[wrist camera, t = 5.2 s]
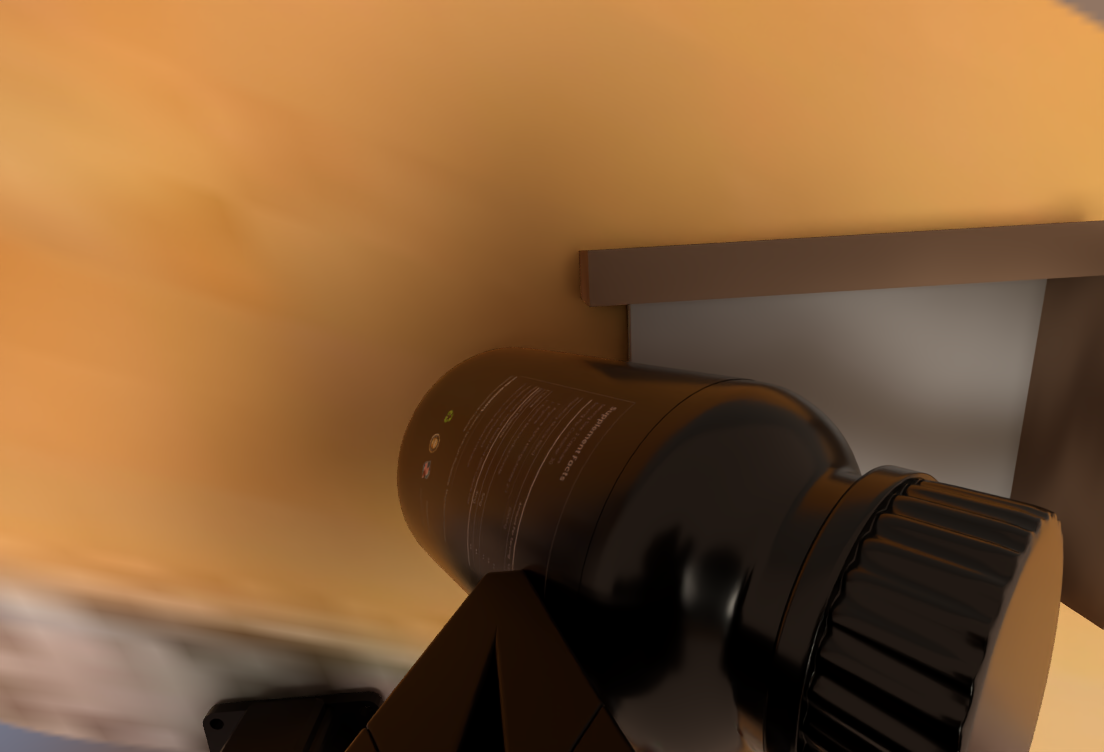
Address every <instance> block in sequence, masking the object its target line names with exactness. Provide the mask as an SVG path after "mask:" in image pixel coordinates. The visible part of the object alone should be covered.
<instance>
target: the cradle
mask: <svg viewBox="0 0 1104 752" xmlns="http://www.w3.org/2000/svg"><path fill="white" fill-rule="evenodd" d="M579 263H580V286H581V299H582V300H583V301H584V302H585V303H586V304H587V305H589V306H590V307H595V306H611V305H627V304H628V350H629V362H634V363H641V364H648V365H655V366H662V367H669V368H676V369H683V370H690V371H697V372H704V373H711V374H718V375H725V376H731V377H738V378H745V379H751V380H755V381H761V382H766V383H770V384H774V385H778V386H782V387H785V388H787V389H789V390H791V391H793V392H796V393H798V394H799V395H801V396H803V397H804V398H805V399H807V400H808V401H810V402H811V403H812V404H814V405H815V406H817V407H818V408H819V409H820V410H821V411H823V412H824V413H825V414H826V415H827V416H828V417H829V418H830V419H831V420H832V422H833V423H834V424H835V425H836V426H837V427H838V429H839V430H840V431H841V433H842V434H843V436H844V437H845V439H846V440H847V442H848V444H849V446H850V448H851V450H852V451H853V454H854V456H855V458H856V461H857V463H858V466H859V469H860V472H861V475H864V474H865V473H867V472H868V471H870V470H872V469H874V468H876V467H879V466H883V465H894V466H898V467H902V468H906V469H910V470H915V471H919V472H923V473H927V474H929V475H931V476H933V477H934V478H935V479H936V480H937V481H938V482H941V483H946V484H951V485H956V486H960V487H964V488H968V489H973V490H977V491H981V492H985V493H989V494H993V495H997V496H1002V497H1006V498H1010V499H1014V500H1018V501H1022V502H1026V503H1030V504H1034V505H1037V506H1040V507H1043V508H1045V509H1048V510H1050V511H1052V512H1055V513H1056V516H1057V519H1058V520H1060V522H1061V532H1062V534H1063V554H1064V559H1063V577H1062V590H1061V599H1060V602H1062V603H1063V604H1065V605H1066V606H1068V607H1069V608H1071V609H1072V610H1074V611H1075V612H1077V613H1079V614H1080V615H1082V616H1083V617H1085V618H1086V619H1088V620H1089V621H1091V622H1092V623H1094V624H1095V625H1097V626H1098V627H1100V628H1101V629H1103V630H1104V221H1086V222H1069V223H1052V224H1035V225H1018V226H1001V227H983V228H966V229H949V230H932V231H915V232H898V233H880V234H863V235H846V236H829V237H812V238H794V239H777V240H760V241H743V242H726V243H709V244H691V245H674V246H657V247H640V248H623V249H606V250H588V251H579Z"/></svg>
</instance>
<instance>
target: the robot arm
mask: <svg viewBox="0 0 1104 752" xmlns="http://www.w3.org/2000/svg"><path fill="white" fill-rule="evenodd" d="M365 706H369V707H371V708H367V707H365ZM203 727H204V730H205V734H206V738H207V741H208V745H209V749H210V752H635V750H634V749H633V747H632V746H631V744H630V743H629V741H628V740H627V738H626V736H625V735H624V733H623V732H622V730H621V729H620V727H619V726H618V724H617V722H616V721H615V719H614V717H613V716H612V714H611V713H610V711H609V709H608V708H607V707H606V706H605V704H604V702H603V700H602V698H601V697H600V695H599V693H598V692H597V690H596V688H595V687H594V685H593V683H592V682H591V680H590V679H589V677H588V675H587V674H586V672H585V670H584V669H583V667H582V665H581V664H580V662H579V660H578V659H577V657H576V655H575V654H574V652H573V651H572V649H571V647H570V646H569V644H568V642H567V641H566V639H565V637H564V636H563V634H562V632H561V631H560V629H559V627H558V626H557V624H556V623H555V621H554V619H553V618H552V616H551V614H550V613H549V611H548V609H547V608H546V606H545V604H544V603H543V601H542V600H541V598H540V596H539V595H538V593H537V591H536V590H535V588H534V586H533V585H532V583H531V581H530V580H529V578H528V576H527V575H526V573H525V572H524V571H523V570H512V571H501V572H489V573H487V574H485V576H484V577H483V578H482V579H481V581H480V582H479V583H478V584H477V586H476V587H475V588H474V589H473V591H472V592H471V593H470V594H469V596H468V597H467V598H466V600H465V601H464V602H463V603H462V605H461V606H460V607H459V608H458V610H457V611H456V612H455V613H454V615H453V616H452V617H451V618H450V620H449V621H448V622H447V623H446V625H445V626H444V627H443V629H442V630H441V631H440V632H439V634H438V635H437V636H436V637H435V639H434V640H433V641H432V642H431V644H430V645H429V646H428V647H427V649H426V650H425V651H424V653H423V654H422V655H421V656H420V658H419V659H418V660H417V661H416V663H415V664H414V665H413V666H412V668H411V669H410V670H409V671H408V673H407V674H406V675H405V676H404V678H403V679H402V680H401V682H400V683H399V684H398V685H397V687H396V688H395V689H394V690H393V692H392V693H391V694H390V695H389V697H388V698H387V699H386V700H385V702H384V703H383V700H382V698H381V697H380V696H379V695H378V694H376V693H374V692H358V693H345V694H333V695H321V696H309V697H297V698H284V699H272V700H260V701H248V702H236V703H223V704H217V705H215V706H213V707H212V708H211V709H210V711H209V712H208V714H207V715H206V716H205V718H204V720H203Z"/></svg>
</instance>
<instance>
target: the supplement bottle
mask: <svg viewBox="0 0 1104 752" xmlns="http://www.w3.org/2000/svg"><path fill="white" fill-rule="evenodd" d="M397 486H398V495H399V500H400V505H401V509H402V512H403V515H404V518H405V521H406V523H407V525H408V527H409V529H410V531H411V532H412V534H413V536H414V537H415V539H416V540H417V542H418V543H419V544H420V545H421V547H422V548H423V549H424V550H425V551H426V552H427V553H428V555H429V556H430V557H431V558H432V559H433V560H434V561H435V562H436V563H437V564H438V565H439V566H440V567H441V568H442V569H443V570H444V571H445V572H446V573H447V574H448V575H449V576H450V577H451V578H452V579H453V580H454V581H455V582H456V583H457V584H458V585H459V586H460V587H461V588H462V589H463V590H464V591H465V592H466V593H467V594H468V595H469V594H470V593H471V592H472V591H473V589H474V588H475V587H476V586H477V584H478V583H479V582H480V581H481V579H482V578H483V577H484V576H485V574H487V573H489V572H501V571H512V570H523V571H524V572H525V573H526V575H527V576H528V578H529V580H530V581H531V583H532V585H533V586H534V588H535V590H536V591H537V593H538V595H539V596H540V598H541V600H542V601H543V603H544V604H545V606H546V608H547V609H548V611H549V613H550V614H551V616H552V618H553V619H554V621H555V623H556V624H557V626H558V627H559V629H560V631H561V632H562V634H563V636H564V637H565V639H566V641H567V642H568V644H569V646H570V647H571V649H572V651H573V652H574V654H575V655H576V657H577V659H578V660H579V662H580V664H581V665H582V667H583V669H584V670H585V672H586V674H587V675H588V677H589V679H590V680H591V682H592V683H593V685H594V687H595V688H596V690H597V692H598V693H599V695H600V697H601V698H602V700H603V702H604V704H605V706H606V707H607V708H608V709H609V711H610V713H611V714H612V716H613V717H614V719H615V721H616V722H617V724H618V726H619V727H620V729H621V730H622V732H623V733H624V735H625V736H626V738H627V740H628V741H629V743H630V744H631V746H632V747H633V749H634V750H635V752H1029V750H1030V746H1031V742H1032V739H1033V735H1034V731H1035V728H1036V724H1037V720H1038V716H1039V712H1040V708H1041V704H1042V700H1043V696H1044V691H1045V687H1046V683H1047V678H1048V673H1049V668H1050V663H1051V658H1052V653H1053V647H1054V642H1055V636H1056V629H1057V623H1058V616H1059V608H1060V599H1061V590H1062V577H1063V559H1064V554H1063V534H1062V532H1061V522H1060V520H1058V519H1057V516H1056V513H1055V512H1052V511H1050V510H1048V509H1045V508H1043V507H1040V506H1037V505H1034V504H1030V503H1026V502H1022V501H1018V500H1014V499H1010V498H1006V497H1002V496H997V495H993V494H989V493H985V492H981V491H977V490H973V489H968V488H964V487H960V486H956V485H951V484H946V483H941V482H938V481H937V480H936V479H935V478H934V477H933V476H931V475H929V474H927V473H923V472H919V471H915V470H910V469H906V468H902V467H898V466H894V465H883V466H879V467H876V468H874V469H872V470H870V471H868V472H867V473H865V474H864V475H861V472H860V469H859V466H858V463H857V461H856V458H855V456H854V454H853V451H852V450H851V448H850V446H849V444H848V442H847V440H846V439H845V437H844V436H843V434H842V433H841V431H840V430H839V429H838V427H837V426H836V425H835V424H834V423H833V422H832V420H831V419H830V418H829V417H828V416H827V415H826V414H825V413H824V412H823V411H821V410H820V409H819V408H818V407H817V406H815V405H814V404H812V403H811V402H810V401H808V400H807V399H805V398H804V397H803V396H801V395H799V394H798V393H796V392H793V391H791V390H789V389H787V388H785V387H782V386H778V385H774V384H770V383H766V382H761V381H755V380H751V379H745V378H738V377H731V376H725V375H718V374H711V373H704V372H697V371H690V370H683V369H676V368H669V367H662V366H655V365H648V364H641V363H634V362H627V361H620V360H613V359H606V358H599V357H592V356H585V355H578V354H571V353H564V352H557V351H550V350H542V349H532V348H523V347H507V348H499V349H494V350H490V351H486V352H483V353H480V354H478V355H475V356H473V357H471V358H469V359H467V360H465V361H463V362H462V363H460V364H458V365H457V366H455V367H454V368H452V369H451V370H450V371H448V372H447V373H446V374H445V375H444V376H443V377H441V378H440V379H439V380H438V381H437V382H436V383H435V384H434V385H433V387H432V388H431V389H430V390H429V391H428V392H427V394H426V395H425V396H424V398H423V399H422V400H421V402H420V403H419V405H418V407H417V408H416V410H415V412H414V414H413V416H412V418H411V420H410V422H409V424H408V426H407V429H406V431H405V434H404V437H403V441H402V444H401V448H400V453H399V458H398V468H397Z"/></svg>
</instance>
